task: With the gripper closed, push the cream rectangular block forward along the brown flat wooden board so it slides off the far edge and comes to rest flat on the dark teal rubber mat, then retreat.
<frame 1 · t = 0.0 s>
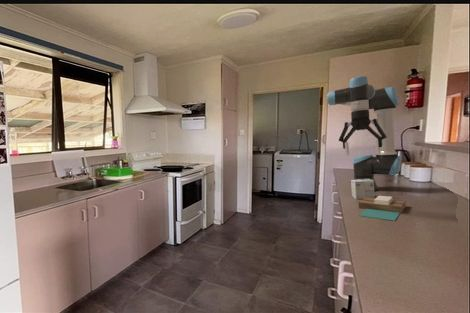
hand: (362, 155, 111), 28 cm above the countertop, fingers open, 13 cm apart
mat: (379, 214, 108), on the countertop
light bulb box: (363, 198, 138), on the countertop
brown flat wooden board: (381, 207, 118), on the countertop
cream rectangular block: (383, 202, 116), point 3 cm above the countertop, touching brown flat wooden board
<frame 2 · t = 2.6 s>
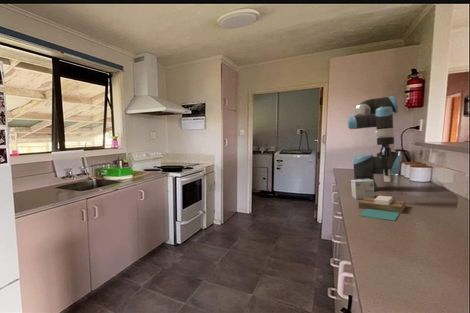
hand: (387, 181, 123), 12 cm above the countertop, fingers closed
nothing on the countertop moved.
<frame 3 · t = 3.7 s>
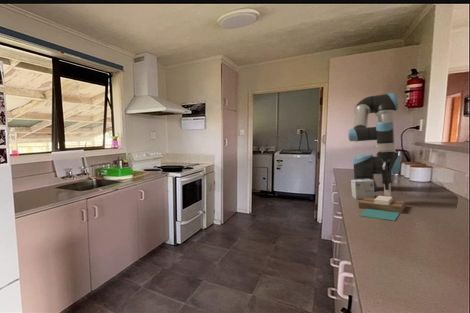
hand: (387, 195, 123), 4 cm above the countertop, fingers closed
nothing on the countertop moved.
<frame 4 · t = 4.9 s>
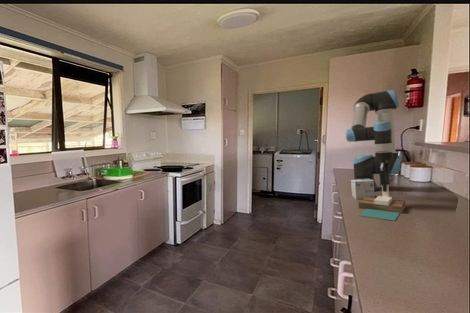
hand: (385, 197, 119), 4 cm above the countertop, fingers closed
cream rectangular block: (383, 202, 116), point 3 cm above the countertop, touching brown flat wooden board, gripper
everything else where it was.
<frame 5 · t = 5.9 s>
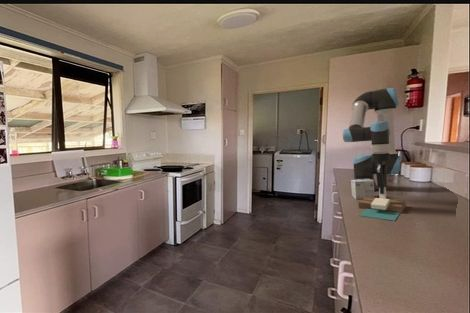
hand: (382, 199, 115), 4 cm above the countertop, fingers closed
cream rectangular block: (380, 205, 112), point 3 cm above the countertop, tilted 7°, touching gripper
everything else where it was.
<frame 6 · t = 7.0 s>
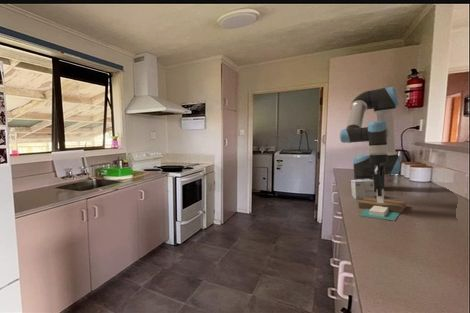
hand: (380, 202, 112), 4 cm above the countertop, fingers closed
cream rectangular block: (379, 213, 109), resting on mat
everything else where it was.
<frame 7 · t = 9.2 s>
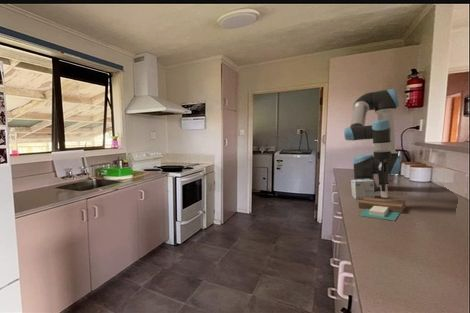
hand: (384, 197, 118), 5 cm above the countertop, fingers closed
nothing on the countertop moved.
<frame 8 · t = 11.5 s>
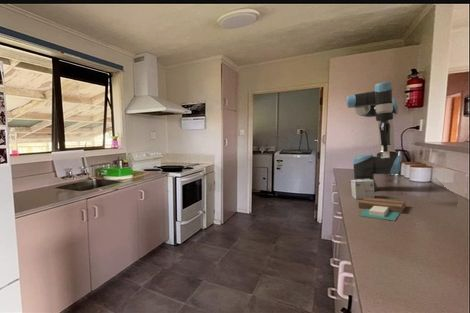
hand: (386, 157, 123), 24 cm above the countertop, fingers closed
nothing on the countertop moved.
at the end: cream rectangular block resting on mat; cream rectangular block inside the target area on the mat (1.6 cm from its centre), point 0.3 cm above the mat's base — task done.
